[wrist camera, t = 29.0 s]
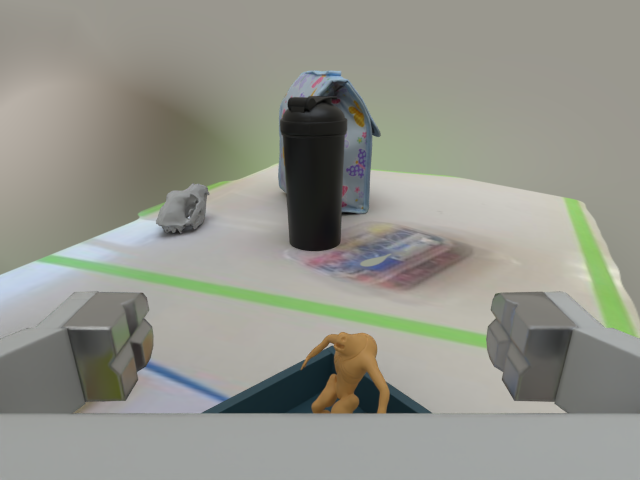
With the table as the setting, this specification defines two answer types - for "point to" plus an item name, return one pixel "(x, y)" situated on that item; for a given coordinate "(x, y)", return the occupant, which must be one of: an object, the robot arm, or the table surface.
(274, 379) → the teal square tray
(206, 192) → the skull
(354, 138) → the lunch bag
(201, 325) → the table surface
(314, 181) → the water bottle
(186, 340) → the table surface
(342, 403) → the figurine
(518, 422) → the robot arm
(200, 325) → the table surface
